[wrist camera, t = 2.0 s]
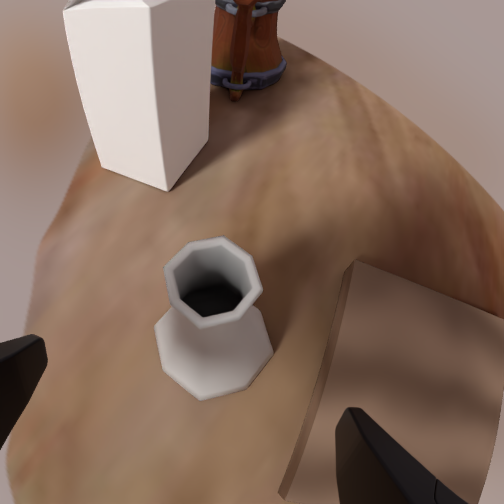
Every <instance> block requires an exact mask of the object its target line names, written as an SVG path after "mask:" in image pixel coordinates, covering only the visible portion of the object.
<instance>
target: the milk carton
mask: <svg viewBox="0 0 504 504" xmlns="http://www.w3.org/2000/svg"><path fill="white" fill-rule="evenodd" d="M214 12H215V0H69V1H68V3H67V4H66V6H65V7H64V9H63V17H64V23H65V28H66V34H67V39H68V44H69V49H70V54H71V59H72V63H73V68H74V72H75V76H76V80H77V84H78V88H79V92H80V96H81V100H82V103H83V107H84V111H85V114H86V118H87V121H88V124H89V128H90V131H91V134H92V138H93V141H94V144H95V147H96V150H97V153H98V156H99V159H100V162H101V165H102V167H103V168H106V169H108V170H111V171H114V172H116V173H119V174H122V175H124V176H127V177H130V178H132V179H135V180H138V181H140V182H143V183H146V184H148V185H151V186H154V187H156V188H159V189H162V190H164V191H167V192H168V191H169V190H170V189H171V188H172V187H173V185H174V184H175V183H176V181H177V180H178V179H179V177H180V176H181V175H182V173H183V172H184V171H185V169H186V168H187V167H188V165H189V164H190V163H191V161H192V160H193V159H194V158H195V156H196V155H197V154H198V152H199V151H200V150H201V149H202V147H203V146H204V145H205V144H206V142H207V141H208V135H209V102H210V78H211V58H212V41H213V26H214Z"/></svg>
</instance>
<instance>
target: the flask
mask: <svg viewBox="0 0 504 504" xmlns="http://www.w3.org/2000/svg"><path fill="white" fill-rule="evenodd" d="M163 269H164V275H165V280H166V285H167V291H168V296H169V301H170V305H171V306H172V307H171V308H170V309H169V310H168V311H167V312H166V314H165V315H164V316H163V317H162V318H161V319H160V320H159V321H158V322H157V323H156V325H155V326H154V331H155V336H156V341H157V346H158V351H159V355H160V360H161V364H162V369H163V371H164V372H165V373H166V374H168V375H169V376H170V377H171V378H172V379H173V380H175V381H176V382H177V383H178V384H179V385H181V386H182V387H183V388H184V389H185V390H187V391H188V392H189V393H190V394H192V395H193V396H194V397H195V398H197V399H198V400H199V401H202V400H206V399H211V398H215V397H219V396H223V395H227V394H231V393H235V392H239V391H243V390H246V389H247V388H248V387H249V385H250V384H251V383H252V382H253V380H254V379H255V378H256V377H257V375H258V374H259V373H260V371H261V370H262V369H263V367H264V366H265V365H266V364H267V362H268V361H269V360H270V358H271V357H272V356H273V354H274V352H273V349H272V346H271V343H270V339H269V336H268V333H267V330H266V327H265V324H264V320H263V317H262V314H261V311H260V310H259V309H257V308H256V307H255V306H253V305H252V304H253V303H254V302H255V301H256V300H257V298H258V297H259V296H260V295H261V293H262V292H263V288H262V284H261V281H260V278H259V275H258V272H257V269H256V266H255V263H254V260H253V257H252V255H250V254H249V253H247V252H246V251H245V250H243V249H242V248H240V247H239V246H238V245H236V244H235V243H233V242H232V241H231V240H229V239H228V238H227V237H225V236H224V235H223V236H218V237H213V238H207V239H202V240H197V241H192V242H188V243H187V244H186V245H185V246H184V247H183V248H182V249H181V250H180V251H179V252H178V253H177V254H176V255H175V256H174V257H173V258H172V259H171V260H170V261H169V262H168V263H167V264H166V265H165V266H164V267H163Z"/></svg>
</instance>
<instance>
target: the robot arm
mask: <svg viewBox="0 0 504 504" xmlns="http://www.w3.org/2000/svg"><path fill="white" fill-rule="evenodd" d="M47 363H48V358H47V353H46V347H45V342H44V340H43V338H41V337H39V336H37V335H34V334H30V335H27V336H23V337H20V338H16V339H13V340H10V341H6V342H2V343H0V450H1V448H2V446H3V444H4V443H5V441H6V439H7V437H8V436H9V434H10V432H11V430H12V429H13V427H14V425H15V424H16V422H17V420H18V419H19V417H20V415H21V414H22V412H23V411H24V409H25V407H26V406H27V404H28V402H29V400H30V398H31V396H32V394H33V392H34V390H35V388H36V386H37V384H38V382H39V380H40V378H41V376H42V374H43V373H44V371H45V369H46V367H47ZM335 452H336V480H337V487H338V495H339V502H340V504H469V503H467V502H466V501H465V500H463V499H462V498H461V497H459V496H458V495H457V494H455V493H454V492H453V491H452V490H450V489H449V488H448V487H447V486H446V485H445V484H443V483H442V482H441V481H440V480H439V479H436V477H435V476H434V475H433V474H432V473H431V472H430V471H429V470H428V469H426V468H425V467H424V466H423V465H422V464H421V463H420V462H419V461H418V460H416V459H415V458H414V457H413V456H412V455H411V454H410V453H409V452H408V451H407V450H405V449H404V448H403V447H402V446H401V445H400V444H399V443H398V442H397V441H396V440H395V439H394V438H392V437H391V436H390V435H389V434H388V433H387V432H386V431H385V430H384V429H383V428H382V427H381V426H380V425H379V424H378V423H376V422H375V421H374V420H373V419H372V418H371V417H370V416H369V415H368V414H367V413H366V412H365V411H364V410H363V409H362V408H359V407H347V408H346V409H345V411H344V412H343V414H342V416H341V418H340V420H339V422H338V424H337V426H336V429H335Z"/></svg>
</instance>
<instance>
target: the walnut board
mask: <svg viewBox="0 0 504 504" xmlns="http://www.w3.org/2000/svg"><path fill="white" fill-rule="evenodd" d="M503 388H504V319H501V318H499V317H497V316H494V315H492V314H490V313H487V312H485V311H482V310H480V309H478V308H475V307H473V306H471V305H468V304H466V303H463V302H461V301H459V300H456V299H454V298H451V297H449V296H446V295H444V294H441V293H439V292H437V291H434V290H432V289H429V288H427V287H424V286H422V285H419V284H417V283H414V282H412V281H409V280H407V279H404V278H402V277H399V276H396V275H394V274H391V273H389V272H386V271H384V270H381V269H379V268H376V267H373V266H371V265H368V264H366V263H363V262H360V261H358V260H354V261H353V262H352V264H351V265H350V266H349V267H348V268H347V270H346V271H345V272H344V276H343V281H342V286H341V290H340V294H339V299H338V303H337V307H336V312H335V316H334V320H333V324H332V328H331V332H330V335H329V339H328V343H327V347H326V350H325V354H324V358H323V361H322V365H321V368H320V372H319V375H318V379H317V382H316V385H315V389H314V392H313V395H312V398H311V402H310V405H309V408H308V411H307V414H306V417H305V420H304V423H303V426H302V429H301V432H300V435H299V438H298V440H297V443H296V446H295V449H294V452H293V454H292V457H291V460H290V462H289V465H288V468H287V470H286V473H285V476H284V478H283V481H282V483H281V486H280V488H279V491H278V493H279V494H280V496H281V497H282V498H283V499H284V500H285V501H289V502H294V503H300V504H340V502H339V495H338V487H337V480H336V452H335V429H336V426H337V424H338V422H339V420H340V418H341V416H342V414H343V412H344V411H345V409H346V408H347V407H359V408H362V409H363V410H364V411H365V412H366V413H367V414H368V415H369V416H370V417H371V418H372V419H373V420H374V421H375V422H376V423H378V424H379V425H380V426H381V427H382V428H383V429H384V430H385V431H386V432H387V433H388V434H389V435H390V436H391V437H392V438H394V439H395V440H396V441H397V442H398V443H399V444H400V445H401V446H402V447H403V448H404V449H405V450H407V451H408V452H409V453H410V454H411V455H412V456H413V457H414V458H415V459H416V460H418V461H419V462H420V463H421V464H422V465H423V466H424V467H425V468H426V469H428V470H429V471H430V472H431V473H432V474H433V475H434V476H435V477H436V479H439V480H440V481H441V482H442V483H443V484H445V485H446V486H447V487H448V488H449V489H450V490H452V491H453V492H454V493H455V494H457V495H458V496H459V497H461V498H462V499H463V500H465V501H466V502H467V503H469V504H478V502H479V499H480V496H481V493H482V490H483V487H484V484H485V480H486V477H487V473H488V470H489V466H490V462H491V458H492V454H493V449H494V445H495V440H496V435H497V430H498V424H499V418H500V412H501V405H502V397H503Z"/></svg>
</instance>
